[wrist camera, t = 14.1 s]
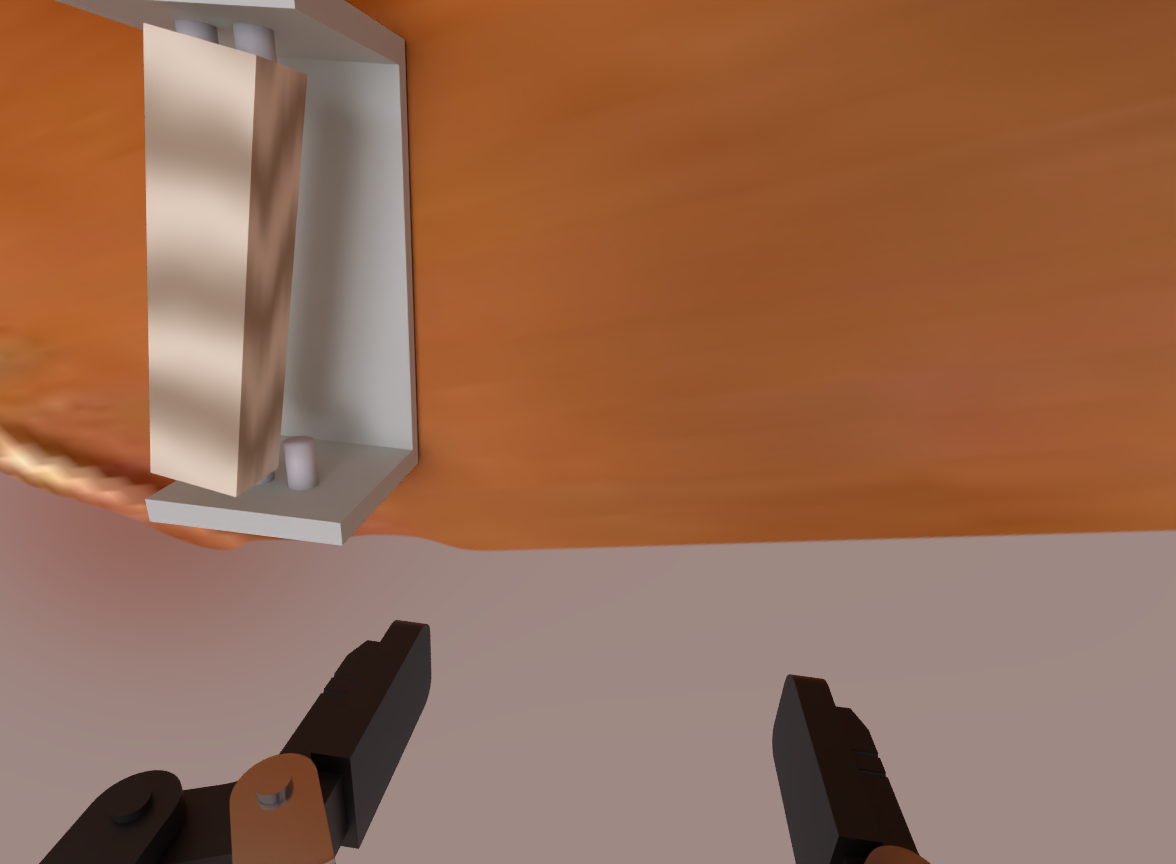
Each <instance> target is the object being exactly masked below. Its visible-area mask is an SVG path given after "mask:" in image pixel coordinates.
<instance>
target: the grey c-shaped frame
mask: <svg viewBox="0 0 1176 864" xmlns="http://www.w3.org/2000/svg"><path fill="white" fill-rule="evenodd" d="M55 1H58V2H61V3H64V4H67V5H70V6H73V7H76V8H79V9H82V10H85V11H87V12H90V13H93V14H96V15H99V16H102V17H105V18H108V19H111V20H114V21H117V22H120V23H123V24H126V25H129V26H132V27H135V28H138V29H141V30H143V23H146V24H150V25H153V26H157V27H160V28H164V29H167V30H170V31H174V32H177V33H181V34H184V35H188V36H191V37H195V38H198V39H202V40H205V41H209V42H212V43H216V44H219V45H223V46H226V47H230V48H233V49H236V50H240V51H243V52H247V53H250V54H254V55H257V56H260V57H262V58H265V59H268V60H271V61H273V62H276V63H279V64H281V65H284V66H287V67H289V68H292V69H295V70H297V71H300V72H303V73H306V74H307V88H306V101H305V115H304V128H303V141H302V155H301V168H300V182H299V195H298V209H297V222H296V235H295V249H294V262H293V276H292V289H291V303H290V316H289V330H288V343H287V356H286V370H285V383H284V397H283V410H282V424H281V437H280V451H279V464H278V468H277V469H276V470H275V471H273V472H272V473H270V474H269V475H267V476H266V477H265V478H263V479H262V480H260V481H259V482H257V483H256V484H255V485H253V486H252V487H250V488H249V489H247V490H246V491H244V492H243V493H242V494H240V495H239V496H237V497H234V496H230V495H227V494H223V493H220V492H216V491H213V490H209V489H206V488H203V487H199V486H196V485H192V484H189V483H185V482H182V481H179V480H177V481H176V482H174V483H172V484H170V485H169V486H167V487H165V488H163V489H162V490H160V491H158V492H156V493H155V494H153V495H151V496H150V497H148V498H146V499H145V501H146V505H147V510H148V514H149V519H150V521H152V522H160V523H168V524H176V525H184V526H192V527H200V528H208V529H216V530H224V531H231V532H239V533H247V534H255V535H263V536H271V537H279V538H287V539H295V540H303V541H311V542H319V543H326V544H335V545H343V544H344V543H345V542H346V541H347V540H348V539H349V538H350V537H351V535H352V534H353V533H354V532H355V531H356V530H357V529H358V528H359V527H360V526H361V525H362V523H363V522H364V521H365V520H366V519H367V518H368V517H369V516H370V515H371V514H372V513H373V512H374V510H375V509H376V508H377V507H378V506H379V505H380V504H381V503H382V502H383V501H384V500H385V499H386V497H387V496H388V495H389V494H390V493H391V492H392V491H393V490H394V489H395V488H396V487H397V485H398V484H399V483H400V482H401V481H402V480H403V479H404V478H405V477H406V476H407V475H408V474H409V472H410V471H411V470H412V469H413V468H414V467H415V466H416V465H417V464H418V439H417V408H416V377H415V346H414V315H413V284H412V253H411V221H410V190H409V159H408V128H407V97H406V66H405V40H404V39H403V38H401V37H400V36H398V35H397V34H395V33H394V32H392V31H391V30H389V29H388V28H386V27H384V26H383V25H381V24H380V23H378V22H377V21H375V20H374V19H372V18H371V17H369V16H368V15H366V14H365V13H363V12H361V11H360V10H358V9H357V8H355V7H354V6H352V5H351V4H349V3H348V2H346V1H345V0H55Z"/></svg>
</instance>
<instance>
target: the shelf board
mask: <svg viewBox="0 0 1176 864" xmlns="http://www.w3.org/2000/svg"><path fill="white" fill-rule="evenodd" d="M143 33H144V94H145V154H146V214H147V274H148V335H149V395H150V455H151V473H154V474H158V475H161V476H165V477H168V478H172V479H175V480H179V481H182V482H185V483H189V484H192V485H196V486H199V487H203V488H206V489H209V490H213V491H216V492H220V493H223V494H227V495H230V496H234V497H237V496H239V495H240V494H242V493H243V492H244V491H246V490H247V489H249V488H250V487H252V486H253V485H255V484H256V483H257V482H259V481H260V480H262V479H263V478H265V477H266V476H267V475H269V474H270V473H272V472H273V471H275V470H276V469H277V468H278V464H279V451H280V437H281V424H282V410H283V397H284V383H285V370H286V356H287V343H288V330H289V316H290V303H291V289H292V276H293V262H294V249H295V235H296V222H297V209H298V195H299V182H300V168H301V155H302V141H303V128H304V115H305V101H306V88H307V74H306V73H303V72H300V71H297V70H295V69H292V68H289V67H287V66H284V65H281V64H279V63H276V62H273V61H271V60H268V59H265V58H262V57H260V56H257V55H254V54H250V53H247V52H243V51H240V50H236V49H233V48H230V47H226V46H223V45H219V44H216V43H212V42H209V41H205V40H202V39H198V38H195V37H191V36H188V35H184V34H181V33H177V32H174V31H170V30H167V29H164V28H160V27H157V26H153V25H150V24H146V23H143Z"/></svg>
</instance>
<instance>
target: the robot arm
mask: <svg viewBox="0 0 1176 864" xmlns="http://www.w3.org/2000/svg"><path fill="white" fill-rule="evenodd" d="M430 684H431V647H430V627H429V625H428V624H422V623H415V622H408V621H400V620H395V621H394V622H393V623H392V624H391V626H390V627H389V629H388V631H387V632H386V634H385V635H384V637H383V638H382V640H381V641H380V642H376V641H369V640H367V641H366V642H364V643H363V644H362V645H360V646H359V647H358V648H356V649H355V650H354V651H352V652H351V653H350V654H348V655H347V656H346V658H345V659H344V661H343V662H342V664H341V665H340V667H339V668H338V670H337V671H336V673H335V675H334V678H331V680H330V681H329V683H328V684H327V686H326V687H325V688H324V692H323V693H321V694H320V696H319V697H318V699H317V700H316V702H315V703H314V704H313V706H312V707H311V709H310V710H309V712H308V713H307V715H306V716H305V718H304V719H303V721H302V722H301V724H300V725H299V726H298V728H297V729H296V731H295V732H294V734H293V735H292V737H291V738H290V740H289V741H288V742H287V744H286V745H285V747H284V748H283V750H282V751H281V752H280V754H279V755H275V756H272V757H269V758H267V759H265V760H263V761H261V762H259V763H257V764H256V765H254V766H253V767H251V768H250V769H249V770H248V771H247V772H245V773H244V774H243V776H242V777H241V778H240V779H239V780H238V781H236V782H233V783H228V784H223V785H216V786H209V787H203V788H196V789H189V790H182V786H181V783H180V780H179V779H178V777H176V776H175V775H174V774H172V773H170V772H167V771H162V770H153V771H147V772H142V773H138V774H135V775H132V776H130V777H128V778H126V779H123V780H121V781H119V782H118V783H116V784H114V785H113V786H111V787H110V788H108V789H107V790H106V791H105V792H103V793H102V794H101V795H100V796H99V797H97V798H96V799H95V801H94V802H93V803H92V804H91V805H90V806H89V807H88V808H87V809H86V811H85V812H84V813H83V814H82V815H81V817H79V819H78V820H77V821H76V822H75V823H74V824H73V826H72V827H71V828H70V829H69V830H68V831H67V832H66V833H65V835H64V836H63V837H62V838H61V839H60V840H59V841H58V843H57V844H56V845H55V846H54V847H53V848H52V850H51V851H50V852H49V853H48V854H47V855H46V856H45V858H44V859H43V860H42V861H41V862H40V863H39V864H336V862H335V856H336V854H337V852H338V850H339V848H340V846H345V847H352V848H358V849H359V847H360V845H361V843H362V840H363V839H364V836H365V834H366V832H367V830H368V828H369V826H370V823H371V821H372V819H373V817H374V815H375V813H376V810H377V808H378V806H379V804H380V802H381V799H382V797H383V795H384V793H385V791H386V789H387V787H388V784H389V782H390V780H391V778H392V776H393V774H394V771H395V769H396V767H397V765H398V763H399V760H400V758H401V756H402V754H403V752H404V750H405V747H406V745H407V743H408V741H409V739H410V737H411V735H412V733H413V730H414V728H415V726H416V724H417V722H418V719H419V717H420V715H421V713H422V711H423V709H424V706H425V704H426V701H427V698H428V694H429V690H430ZM772 744H773V757H774V762H775V767H776V771H777V776H778V781H779V786H780V790H781V795H782V800H783V804H784V809H785V814H786V819H787V824H788V828H789V833H790V838H791V843H792V847H793V852H794V857H795V861H796V864H930V863H929V862H927V861H926V860H925V859H924V858H922V857H921V856H920V855H919V853H918V852H917V849H916V846H915V844H914V842H913V839H912V836H911V834H910V832H909V829H908V827H907V824H906V822H905V819H904V817H903V814H902V812H901V809H900V807H899V804H898V802H897V799H896V797H895V794H894V792H893V789H892V787H891V784H890V782H889V779H888V778H887V777H886V775H885V774H886V772H885V770H884V767H883V764H882V762H881V760H880V758H878V752H877V750H876V747H875V745H874V742H873V740H872V737H871V735H870V732H869V730H868V729H867V727H866V726H865V725H864V724H863V723H862V722H861V720H860V719H859V718H858V717H857V716H856V714H855V713H854V712H853V711H852V710H851V709H850V708H843V707H836V706H835V704H834V701H833V698H832V695H831V692H830V689H829V686H828V684H827V682H826V681H825V680H824V679H819V678H812V677H805V676H797V675H788V676H787V677H786V680H785V683H784V688H783V691H782V695H781V699H780V703H779V707H778V711H777V715H776V719H775V723H774V728H773V739H772Z"/></svg>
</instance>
